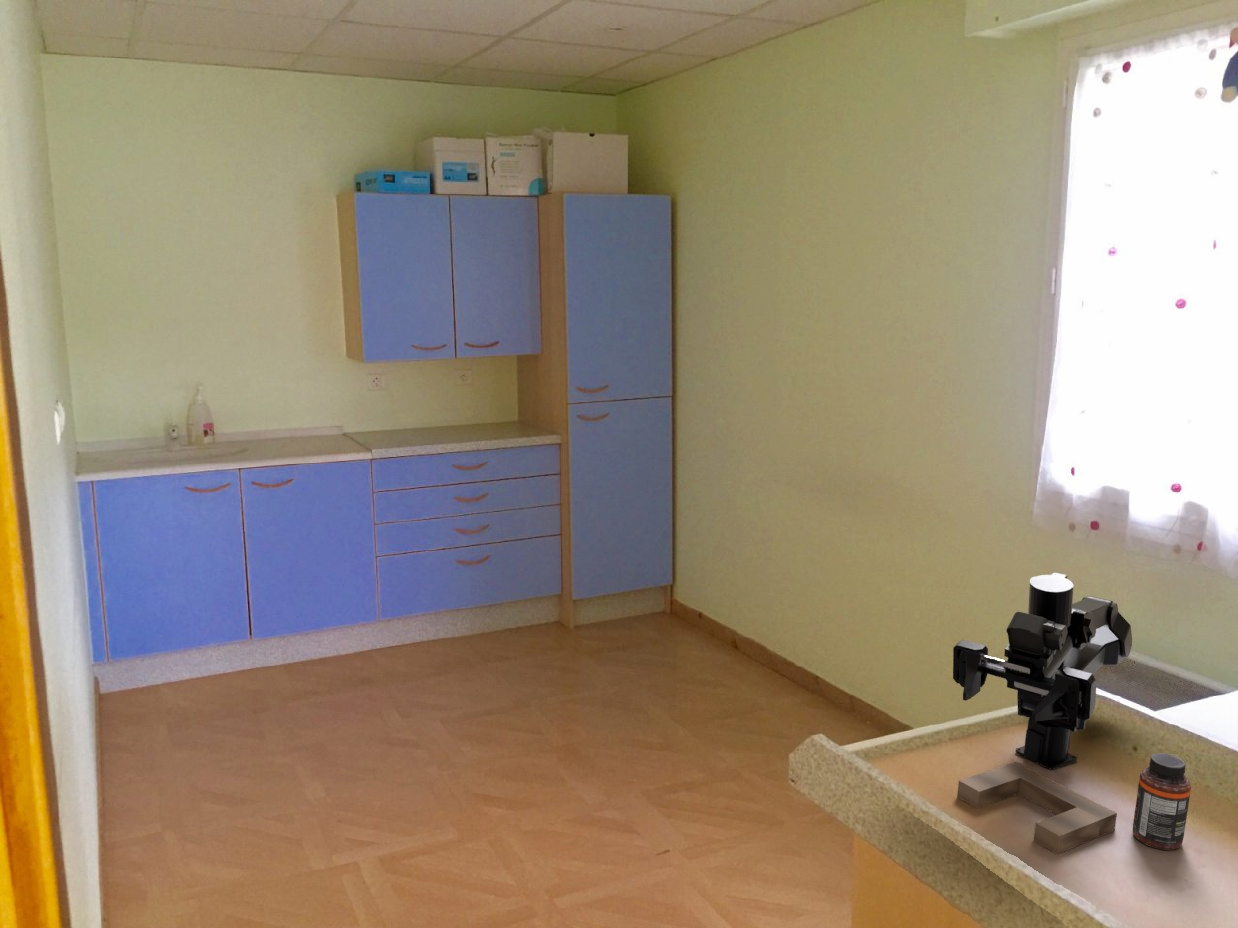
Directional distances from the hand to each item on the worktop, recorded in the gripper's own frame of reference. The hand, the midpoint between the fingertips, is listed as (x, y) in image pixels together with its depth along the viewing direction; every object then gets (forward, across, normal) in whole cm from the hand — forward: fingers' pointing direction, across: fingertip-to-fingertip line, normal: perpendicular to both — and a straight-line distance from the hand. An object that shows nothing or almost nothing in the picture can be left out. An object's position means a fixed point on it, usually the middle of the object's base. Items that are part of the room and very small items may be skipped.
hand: (998, 707), depth 137 cm
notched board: (-2, +4, +17) cm, 17 cm away
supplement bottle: (-7, +19, +18) cm, 27 cm away
